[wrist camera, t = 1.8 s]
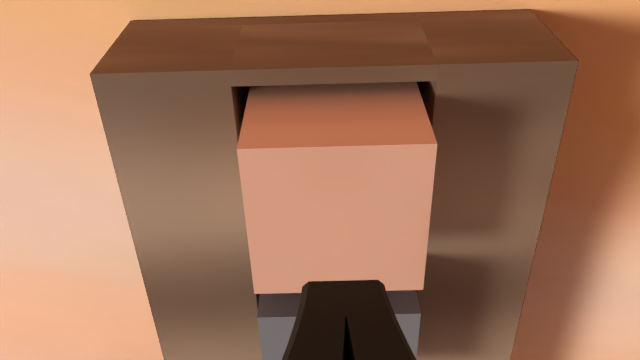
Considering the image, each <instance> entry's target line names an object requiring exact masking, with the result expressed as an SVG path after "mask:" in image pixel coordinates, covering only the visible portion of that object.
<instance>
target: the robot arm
mask: <svg viewBox="0 0 640 360" xmlns="http://www.w3.org/2000/svg"><path fill="white" fill-rule="evenodd" d="M282 360H416V358H415V356H414V354H413V352H412V350H411V348H410V346H409V344H408V342H407V340H406V338H405V336H404V334H403V331H402V329H401V327H400V325H399V323H398V320H397V318H396V316H395V314H394V311H393V309H392V306H391V303H390V301H389V298H388V295H387V292H386V289H385V285H384V284H383V283H382V282H380V281H379V280H348V281H308V282H307V283H306V284H305V285H303V286H302V292H301V299H300V303H299V308H298V312H297V316H296V319H295V323H294V326H293V329H292V332H291V335H290V338H289V341H288V345H287V347H286V350H285V353H284V355H283V358H282Z"/></svg>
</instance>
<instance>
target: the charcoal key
mask: <svg viewBox="0 0 640 360" xmlns="http://www.w3.org/2000/svg"><path fill="white" fill-rule="evenodd" d="M386 292H387V295H388V298H389V301H390V303H391V306H392V309H393V311H394V314H395V316H396V318H397V320H398V323H399V325H400V327H401V329H402V331H403V334H404V336H405V338H406V340H407V342H408V344H409V346H410V348H411V350H412V352H413V354H414V356H415V358H416V359H417V348H418V338H419V328H420V317H421V312H420V307H419V302H418V297H417V292H416V290H397V291H386ZM300 299H301V293H272V294H260V296H259V305H258V314H257V320H258V329H259V337H260V345H261V353H262V360H282V358H283V355H284V353H285V350H286V347H287V345H288V341H289V338H290V335H291V332H292V329H293V326H294V323H295V319H296V316H297V312H298V308H299V303H300Z"/></svg>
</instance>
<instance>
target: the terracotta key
mask: <svg viewBox="0 0 640 360" xmlns="http://www.w3.org/2000/svg"><path fill="white" fill-rule="evenodd" d="M436 153H437V141H436V138H435V135H434V132H433V129H432V126H431V123H430V120H429V117H428V115H427V112H426V109H425V106H424V103H423V100H422V97H421V94H420V91H419V88H418V85H417V82H380V83H343V84H307V85H270V86H250V89H249V94H248V98H247V103H246V108H245V112H244V117H243V122H242V127H241V131H240V136H239V141H238V145H237V155H238V164H239V172H240V180H241V188H242V197H243V205H244V213H245V221H246V230H247V238H248V246H249V254H250V263H251V271H252V279H253V287H254V294H272V293H301V292H302V286H303V285H305V284H306V283H307V282H308V281H348V280H379V281H380V282H382V283H383V284H384V285H385V289H386V291H397V290H423V287H424V276H425V266H426V256H427V245H428V235H429V225H430V215H431V204H432V194H433V184H434V173H435V163H436Z"/></svg>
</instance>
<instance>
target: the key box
mask: <svg viewBox="0 0 640 360" xmlns="http://www.w3.org/2000/svg"><path fill="white" fill-rule="evenodd" d="M578 62H579V60H578V59H577V58H576V57H575V56H574V55H573V54H572V53H571V52H570V51H569V50H568V49H567V48H566V47H565V46H564V45H563V43H562V42H561V41H560V40H559V39H558V38H557V37H556V36H555V35H554V34H553V33H552V32H551V31H550V30H549V29H548V28H547V27H546V25H545V24H544V23H543V22H542V21H541V20H540V19H539V18H538V17H537V16H536V15H535V14H534V13H533V12H532V11H531V10H495V11H459V12H424V13H388V14H352V15H317V16H281V17H246V18H210V19H174V20H139V21H130V22H129V24H128V25H127V26H126V28H125V29H124V30H123V32H122V33H121V34H120V35H119V37H118V38H117V39H116V41H115V42H114V43H113V45H112V46H111V47H110V48H109V50H108V51H107V52H106V54H105V55H104V56H103V58H102V59H101V60H100V61H99V63H98V64H97V65H96V67H95V68H94V69H93V71H92V72H91V73H90V77H91V81H92V85H93V88H94V92H95V96H96V100H97V104H98V108H99V111H100V115H101V119H102V123H103V127H104V131H105V134H106V138H107V142H108V146H109V150H110V154H111V158H112V161H113V165H114V169H115V173H116V177H117V181H118V184H119V188H120V192H121V196H122V200H123V204H124V207H125V211H126V215H127V219H128V223H129V227H130V231H131V234H132V238H133V242H134V246H135V250H136V254H137V257H138V261H139V265H140V269H141V273H142V277H143V280H144V284H145V288H146V292H147V296H148V300H149V303H150V307H151V311H152V315H153V319H154V323H155V327H156V330H157V334H158V338H159V342H160V346H161V350H162V353H163V357H164V360H262V353H261V345H260V337H259V329H258V320H257V314H258V305H259V296H260V294H254V287H253V279H252V271H251V263H250V254H249V246H248V238H247V230H246V221H245V213H244V205H243V197H242V188H241V180H240V172H239V164H238V155H237V145H238V141H239V136H240V131H241V127H242V122H243V117H244V112H245V108H246V103H247V98H248V94H249V89H250V86H270V85H307V84H343V83H380V82H417V85H418V88H419V91H420V94H421V97H422V100H423V103H424V106H425V109H426V112H427V115H428V117H429V120H430V123H431V126H432V129H433V132H434V135H435V138H436V141H437V153H436V163H435V173H434V184H433V194H432V204H431V215H430V225H429V235H428V245H427V256H426V266H425V276H424V287H423V290H416V292H417V297H418V302H419V307H420V312H421V317H420V328H419V338H418V348H417V359H416V360H510V358H511V353H512V349H513V345H514V340H515V336H516V332H517V327H518V323H519V319H520V314H521V310H522V305H523V301H524V297H525V292H526V288H527V284H528V279H529V275H530V271H531V266H532V262H533V258H534V253H535V249H536V245H537V240H538V236H539V232H540V227H541V223H542V218H543V214H544V210H545V205H546V201H547V197H548V192H549V188H550V184H551V179H552V175H553V171H554V166H555V162H556V158H557V153H558V149H559V145H560V140H561V136H562V132H563V127H564V123H565V118H566V114H567V110H568V105H569V101H570V97H571V92H572V88H573V84H574V79H575V75H576V71H577V66H578Z"/></svg>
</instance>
